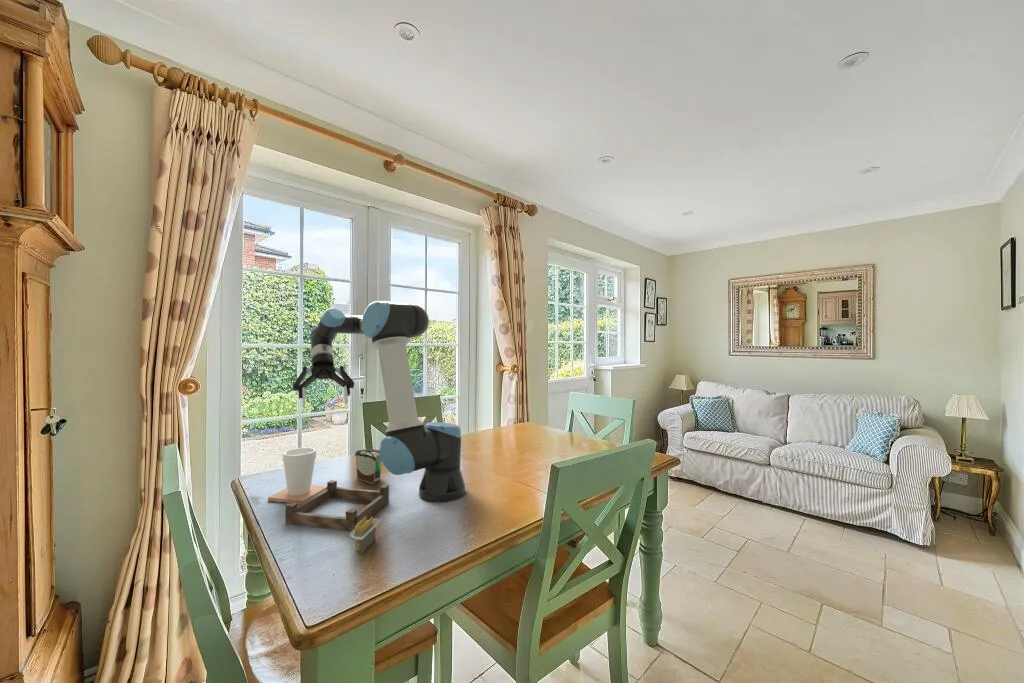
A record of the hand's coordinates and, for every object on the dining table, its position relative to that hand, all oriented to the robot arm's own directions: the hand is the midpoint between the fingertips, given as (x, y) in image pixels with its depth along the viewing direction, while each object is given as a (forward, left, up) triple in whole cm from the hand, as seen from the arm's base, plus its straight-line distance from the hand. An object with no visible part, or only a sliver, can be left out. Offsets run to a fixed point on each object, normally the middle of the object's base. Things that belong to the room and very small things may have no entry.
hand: (325, 403), depth 140 cm
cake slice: (-15, -7, -28) cm, 32 cm away
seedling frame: (-20, +20, -28) cm, 39 cm away
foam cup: (0, +12, -27) cm, 29 cm away
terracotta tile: (0, +12, -28) cm, 30 cm away
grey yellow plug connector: (-36, +36, -28) cm, 59 cm away
